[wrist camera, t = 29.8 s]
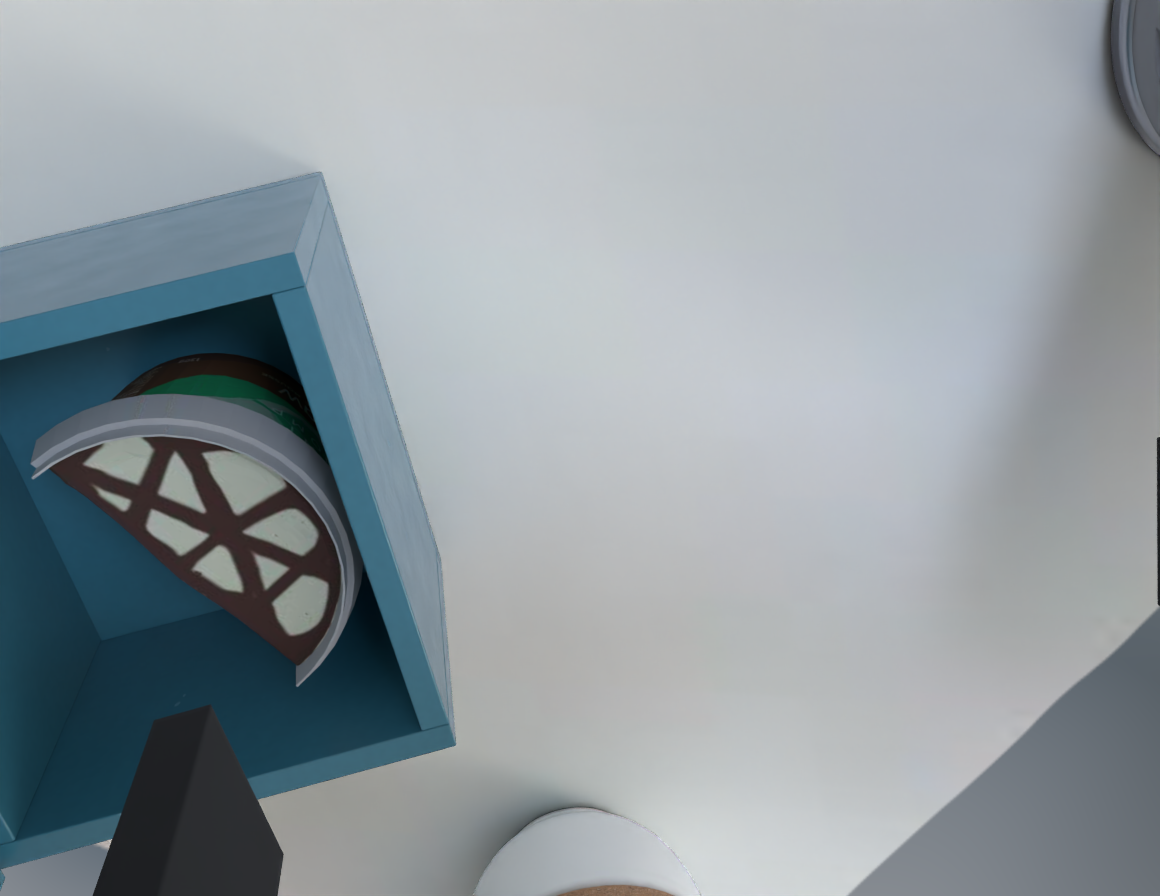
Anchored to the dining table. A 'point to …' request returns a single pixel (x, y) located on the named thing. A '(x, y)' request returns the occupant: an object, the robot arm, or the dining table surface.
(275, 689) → the box
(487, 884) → the lidded bowl
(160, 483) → the food container
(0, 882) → the freezer lid
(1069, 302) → the dining table surface
